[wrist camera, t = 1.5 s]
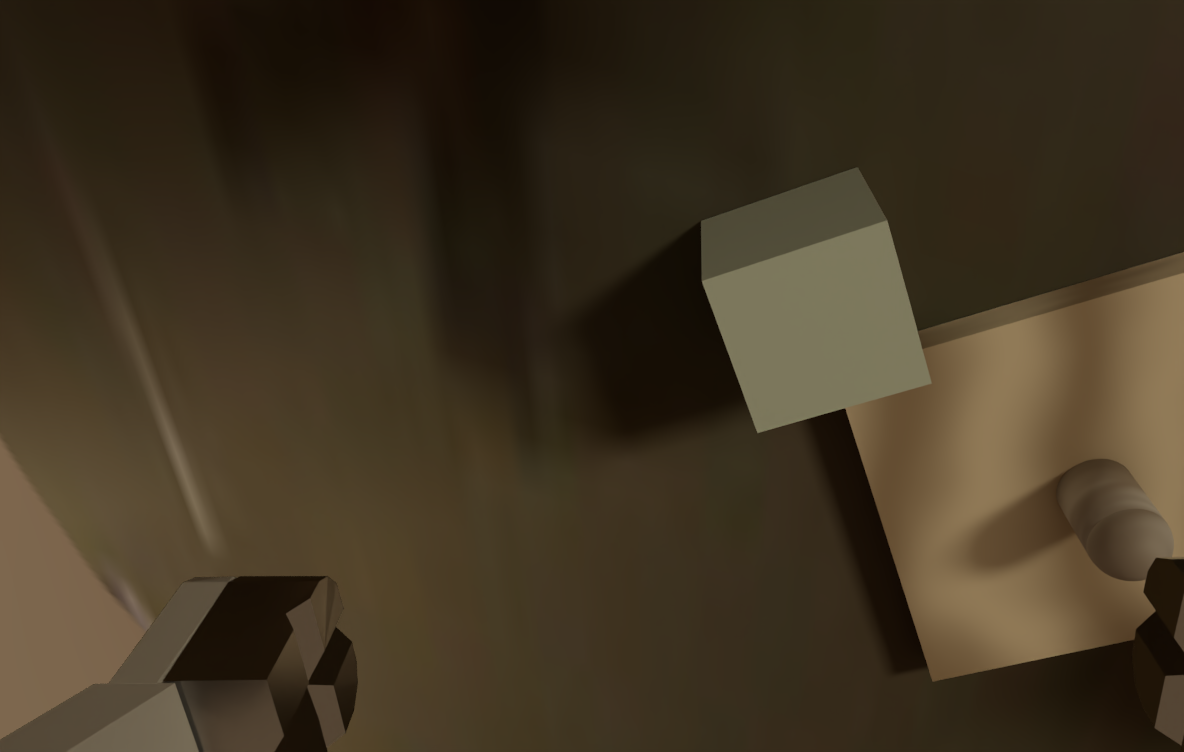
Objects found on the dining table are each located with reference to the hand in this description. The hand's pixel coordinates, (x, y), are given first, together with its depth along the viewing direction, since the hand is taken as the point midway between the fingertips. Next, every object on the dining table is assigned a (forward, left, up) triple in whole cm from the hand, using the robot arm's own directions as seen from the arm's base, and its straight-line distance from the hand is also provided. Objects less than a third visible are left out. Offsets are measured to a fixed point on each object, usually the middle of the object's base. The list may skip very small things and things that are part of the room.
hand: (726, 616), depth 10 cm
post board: (-9, +19, -27) cm, 34 cm away
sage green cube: (-1, +7, -27) cm, 28 cm away
